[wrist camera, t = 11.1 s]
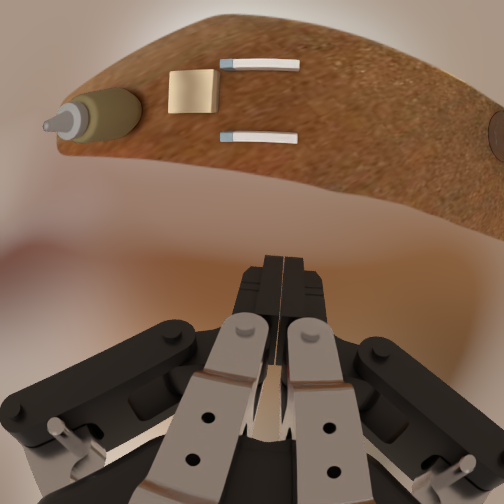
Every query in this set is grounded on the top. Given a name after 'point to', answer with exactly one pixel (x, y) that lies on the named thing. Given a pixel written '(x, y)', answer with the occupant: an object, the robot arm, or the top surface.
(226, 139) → the corridor
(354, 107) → the top surface
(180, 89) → the maple block
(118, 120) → the squeeze bottle
